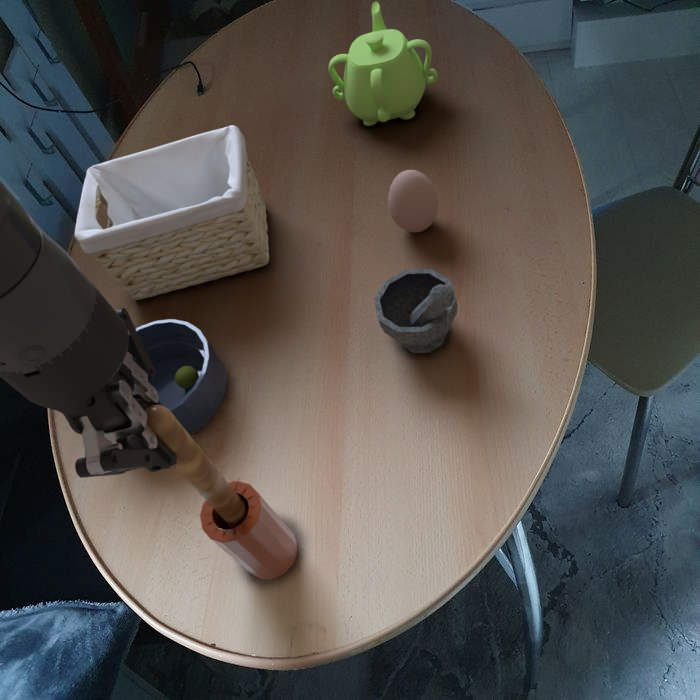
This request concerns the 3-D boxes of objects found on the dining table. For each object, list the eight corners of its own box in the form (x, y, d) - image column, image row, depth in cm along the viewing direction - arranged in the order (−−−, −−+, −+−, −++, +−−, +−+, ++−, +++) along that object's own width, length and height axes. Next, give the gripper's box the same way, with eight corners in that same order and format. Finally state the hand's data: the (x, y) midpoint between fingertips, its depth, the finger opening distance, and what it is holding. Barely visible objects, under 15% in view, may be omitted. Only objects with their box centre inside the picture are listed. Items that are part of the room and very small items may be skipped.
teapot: (326, 109, 117) (305, 41, 107) (389, 66, 120) (375, -3, 110) (382, 146, 108) (365, 76, 98) (450, 99, 110) (439, 27, 100)
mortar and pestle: (370, 339, 87) (348, 278, 77) (418, 292, 89) (403, 228, 80) (435, 384, 80) (421, 325, 71) (486, 332, 83) (478, 268, 73)
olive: (198, 393, 87) (183, 391, 89) (207, 372, 88) (192, 370, 90) (181, 384, 85) (166, 382, 87) (190, 363, 86) (176, 361, 88)
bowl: (194, 459, 82) (171, 435, 77) (99, 432, 88) (71, 407, 83) (247, 358, 89) (229, 329, 84) (156, 338, 95) (134, 311, 90)
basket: (124, 310, 100) (68, 241, 88) (133, 234, 110) (83, 163, 98) (278, 271, 97) (241, 195, 86) (273, 196, 107) (239, 119, 95)
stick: (250, 539, 66) (154, 430, 48) (229, 532, 67) (127, 423, 49) (261, 516, 67) (171, 402, 49) (240, 510, 68) (144, 395, 50)
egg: (407, 205, 99) (395, 152, 91) (450, 214, 96) (441, 160, 88) (386, 238, 96) (372, 187, 88) (429, 248, 93) (419, 196, 85)
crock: (284, 587, 71) (243, 550, 61) (235, 569, 73) (189, 531, 64) (306, 533, 74) (270, 490, 64) (258, 518, 76) (217, 474, 66)
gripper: (-6, 248, 44) (126, 386, 58) (-50, 433, 36) (116, 542, 49) (101, 217, 43) (209, 364, 57) (81, 398, 35) (212, 519, 49)
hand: (165, 446), depth 53 cm, fingers closed on stick, 2 cm apart
